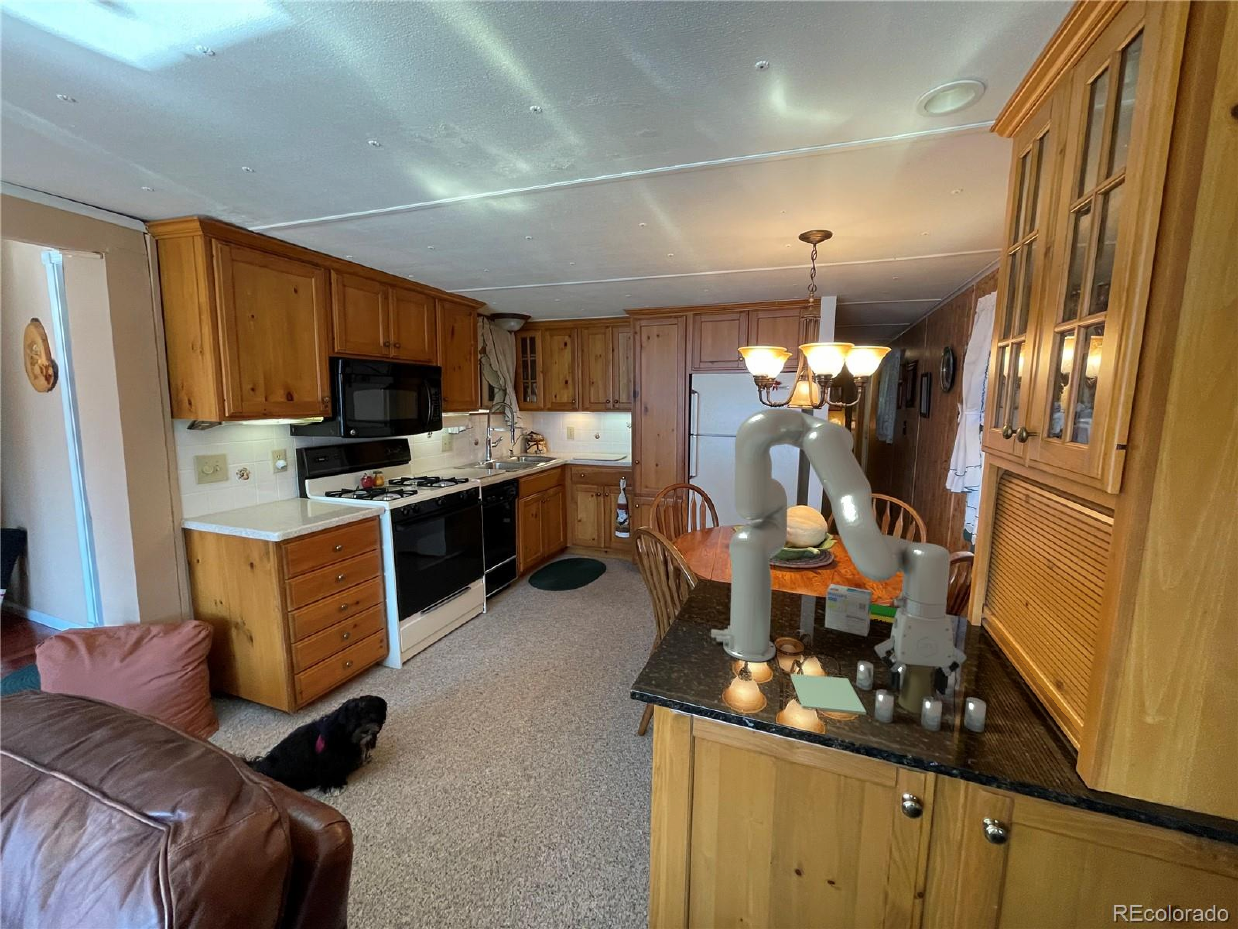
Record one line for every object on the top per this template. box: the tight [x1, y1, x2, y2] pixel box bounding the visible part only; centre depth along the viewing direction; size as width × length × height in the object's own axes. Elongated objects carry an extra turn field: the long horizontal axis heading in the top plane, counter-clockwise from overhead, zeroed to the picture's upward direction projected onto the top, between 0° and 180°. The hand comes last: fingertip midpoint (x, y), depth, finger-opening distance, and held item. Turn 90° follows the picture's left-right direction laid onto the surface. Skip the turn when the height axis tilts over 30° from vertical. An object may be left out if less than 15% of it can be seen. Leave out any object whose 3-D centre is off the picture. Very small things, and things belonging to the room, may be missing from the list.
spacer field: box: [855, 660, 987, 733], centre depth 98 cm, size 19×16×5 cm
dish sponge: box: [870, 603, 899, 624], centre depth 140 cm, size 7×14×2 cm, turn 63°
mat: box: [790, 673, 867, 716], centre depth 102 cm, size 12×12×1 cm
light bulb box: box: [824, 583, 872, 637], centre depth 133 cm, size 11×7×11 cm, turn 58°
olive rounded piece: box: [897, 664, 935, 715], centre depth 98 cm, size 6×6×11 cm
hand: (916, 689), depth 98 cm, fingers open, 7 cm apart
